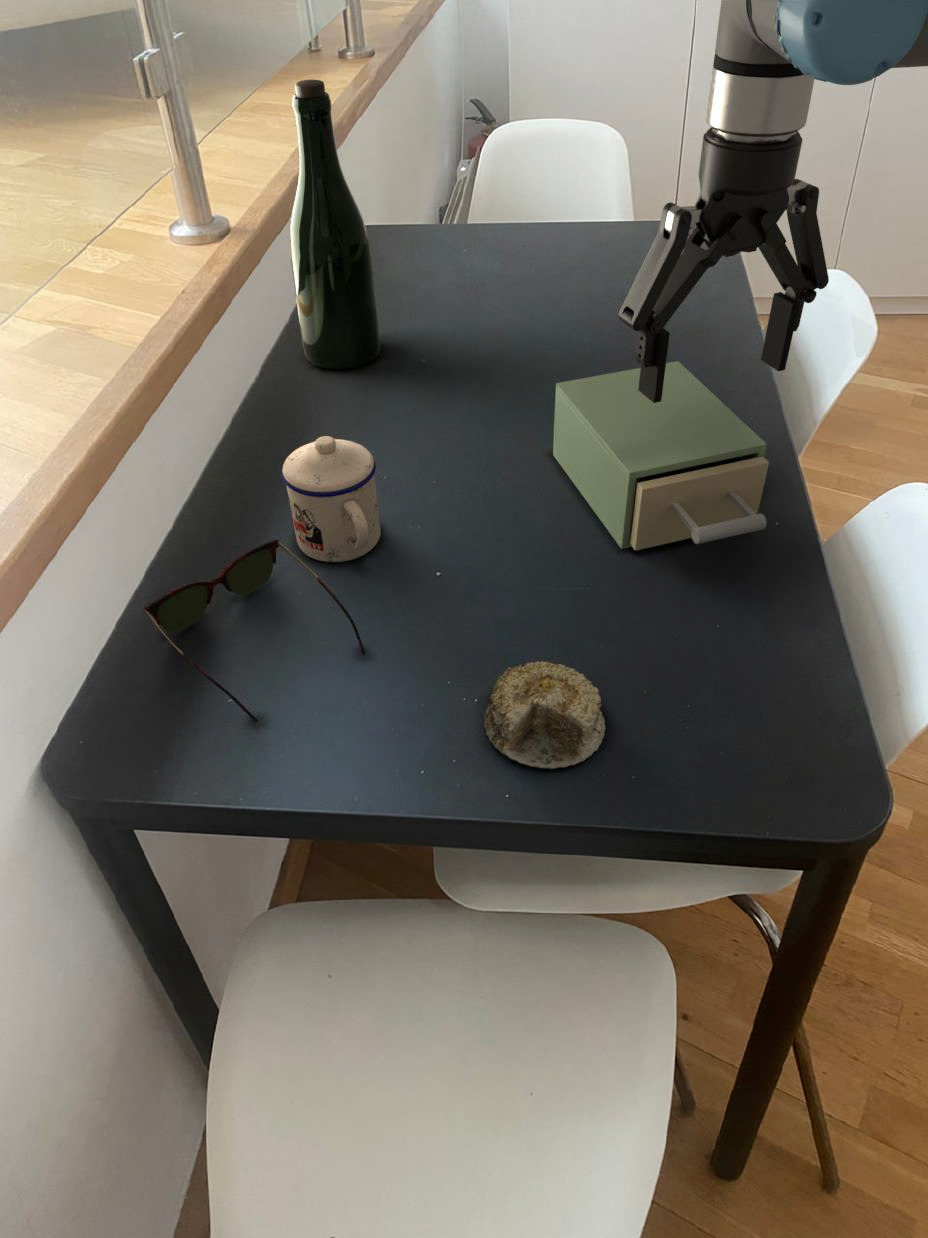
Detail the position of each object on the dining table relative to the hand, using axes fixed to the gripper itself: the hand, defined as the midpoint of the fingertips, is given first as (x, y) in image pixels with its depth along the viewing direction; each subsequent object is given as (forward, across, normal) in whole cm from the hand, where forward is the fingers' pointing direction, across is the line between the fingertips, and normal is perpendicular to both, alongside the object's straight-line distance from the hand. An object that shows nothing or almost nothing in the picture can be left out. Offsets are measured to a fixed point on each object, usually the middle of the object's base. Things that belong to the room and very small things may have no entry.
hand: (712, 380), depth 86 cm
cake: (+16, +27, +19) cm, 37 cm away
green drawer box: (+16, +1, -7) cm, 17 cm away
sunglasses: (+16, +46, 0) cm, 48 cm away
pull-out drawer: (+15, +2, -2) cm, 15 cm away
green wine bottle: (+15, +21, -52) cm, 58 cm away
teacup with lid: (+16, +34, -11) cm, 39 cm away
